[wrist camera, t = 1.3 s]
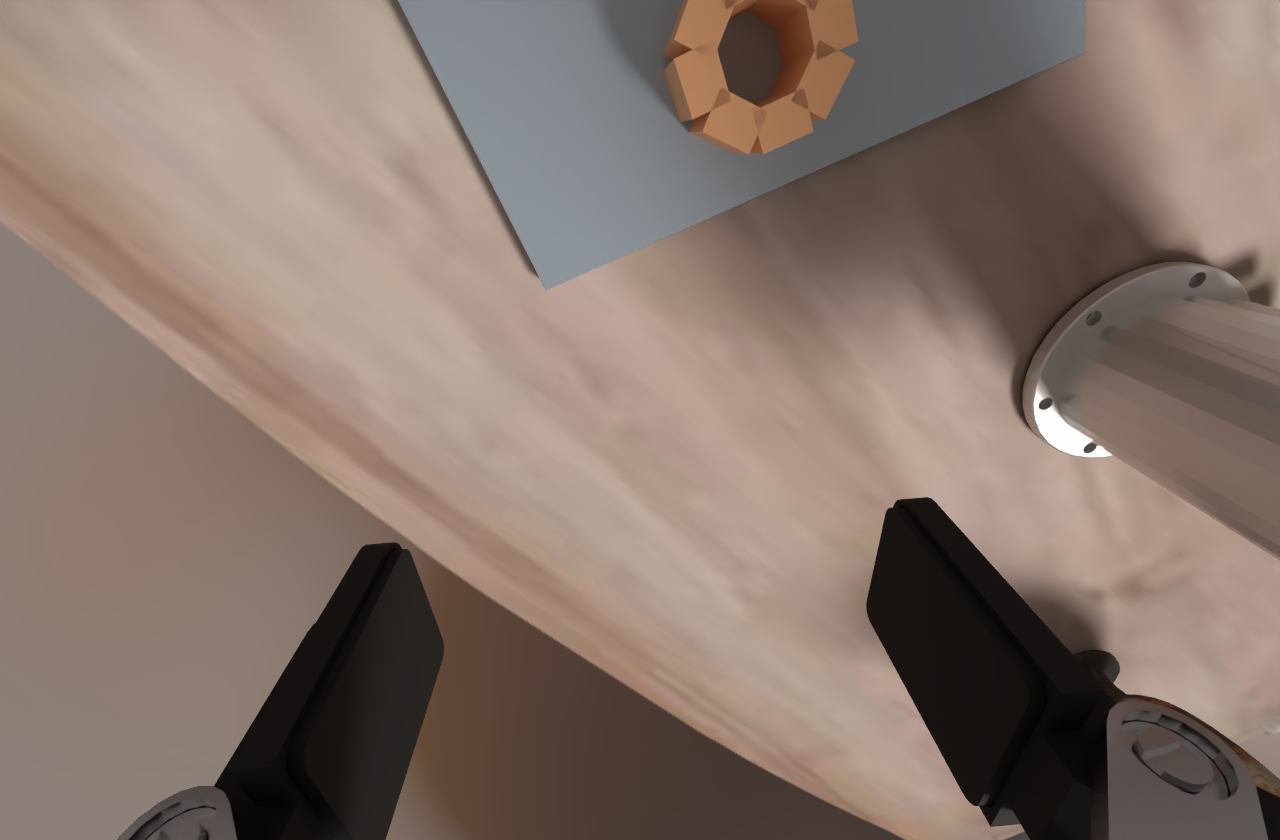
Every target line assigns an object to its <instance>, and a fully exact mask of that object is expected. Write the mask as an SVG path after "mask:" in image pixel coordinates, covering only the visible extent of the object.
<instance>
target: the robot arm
mask: <svg viewBox="0 0 1280 840" xmlns="http://www.w3.org/2000/svg"><path fill="white" fill-rule="evenodd" d="M1022 406H1023V410H1024V414H1025V418H1026V421H1027V423H1028V424H1029V426H1030V428H1031V429H1032V431H1033V432H1034V433H1035V434H1036V435H1037V436H1038V437H1039V438H1040V439H1041V440H1043V441H1044V442H1046V443H1047V444H1049V445H1050V446H1052V447H1053V448H1055V449H1056V450H1058V451H1061V452H1064V453H1066V454H1069V455H1073V456H1079V457H1105V456H1110V455H1114V456H1115V457H1117V458H1118V459H1120V460H1121V461H1123V462H1125V463H1126V464H1128V465H1129V466H1131V467H1133V468H1134V469H1136V470H1137V471H1139V472H1140V473H1142V474H1144V475H1145V476H1147V477H1148V478H1150V479H1152V480H1153V481H1155V482H1156V483H1158V484H1160V485H1161V486H1163V487H1164V488H1166V489H1167V490H1169V491H1171V492H1172V493H1174V494H1175V495H1177V496H1179V497H1180V498H1182V499H1183V500H1185V501H1186V502H1188V503H1190V504H1191V505H1193V506H1194V507H1196V508H1198V509H1199V510H1201V511H1202V512H1204V513H1206V514H1207V515H1209V516H1210V517H1212V518H1213V519H1215V520H1217V521H1218V522H1220V523H1221V524H1223V525H1225V526H1226V527H1228V528H1229V529H1231V530H1232V531H1234V532H1236V533H1237V534H1239V535H1240V536H1242V537H1244V538H1245V539H1247V540H1248V541H1250V542H1252V543H1253V544H1255V545H1256V546H1258V547H1259V548H1261V549H1263V550H1264V551H1266V552H1267V553H1269V554H1271V555H1272V556H1274V557H1275V558H1277V559H1278V560H1280V309H1277V308H1273V307H1269V306H1266V305H1262V304H1258V303H1254V302H1250V300H1249V297H1248V293H1247V292H1246V291H1245V289H1244V288H1243V286H1242V285H1241V283H1240V282H1239V281H1238V280H1237V279H1236V278H1234V277H1233V276H1231V275H1230V274H1229V273H1227V272H1226V271H1223V270H1220V269H1217V268H1214V267H1211V266H1207V265H1202V264H1196V263H1191V262H1163V263H1159V264H1154V265H1149V266H1145V267H1141V268H1139V269H1136V270H1134V271H1131V272H1128V273H1126V274H1123V275H1121V276H1119V277H1117V278H1115V279H1113V280H1111V281H1110V282H1108V283H1106V284H1104V285H1102V286H1100V287H1099V288H1097V289H1096V290H1095V291H1093V292H1092V293H1090V294H1089V295H1088V296H1086V297H1085V298H1083V299H1082V300H1081V301H1079V302H1078V303H1077V304H1076V305H1075V306H1074V307H1073V308H1072V309H1071V310H1069V311H1068V312H1067V313H1066V314H1065V315H1064V316H1063V317H1062V318H1061V319H1060V320H1059V321H1058V323H1057V324H1056V325H1055V326H1054V327H1053V329H1052V330H1051V331H1050V332H1049V333H1048V335H1047V336H1046V337H1045V339H1044V340H1043V342H1042V343H1041V345H1040V347H1039V348H1038V350H1037V351H1036V353H1035V355H1034V357H1033V359H1032V362H1031V364H1030V366H1029V369H1028V371H1027V373H1026V378H1025V382H1024V386H1023V403H1022ZM866 607H867V614H868V617H869V620H870V622H871V624H872V626H873V628H874V630H875V632H876V633H877V635H878V637H879V639H880V641H881V643H882V645H883V646H884V648H885V650H886V652H887V654H888V656H889V658H890V659H891V661H892V663H893V665H894V667H895V669H896V670H897V672H898V674H899V676H900V678H901V680H902V682H903V683H904V685H905V687H906V689H907V691H908V693H909V694H910V696H911V698H912V700H913V702H914V704H915V706H916V707H917V709H918V711H919V713H920V715H921V717H922V719H923V720H924V722H925V724H926V726H927V728H928V730H929V731H930V733H931V735H932V737H933V739H934V741H935V743H936V744H937V746H938V748H939V750H940V752H941V754H942V756H943V757H944V759H945V761H946V763H947V765H948V767H949V768H950V770H951V772H952V774H953V776H954V778H955V780H956V781H957V783H958V785H959V787H960V789H961V791H962V792H963V794H964V796H965V797H966V799H967V800H968V801H969V802H970V803H971V804H972V805H974V806H979V807H980V809H981V810H982V812H983V814H984V816H985V818H986V819H987V821H988V823H989V825H990V827H994V826H1004V825H1015V824H1021V825H1022V827H1023V829H1024V830H1025V832H1026V833H1027V835H1028V837H1029V838H1030V840H1280V797H1278V796H1276V795H1274V794H1272V793H1270V792H1268V791H1266V790H1264V789H1262V788H1260V787H1258V786H1255V784H1254V781H1253V779H1252V777H1251V775H1250V772H1249V770H1248V768H1247V767H1246V766H1245V765H1244V763H1243V762H1242V761H1241V760H1240V758H1239V757H1238V756H1237V754H1236V753H1235V752H1234V751H1233V750H1232V749H1231V748H1230V747H1229V746H1228V745H1227V744H1225V743H1224V742H1223V741H1222V740H1221V739H1220V738H1219V737H1218V736H1217V735H1215V734H1214V733H1213V732H1211V731H1210V730H1208V729H1207V728H1205V727H1204V726H1202V725H1201V724H1199V723H1198V722H1196V721H1195V720H1193V719H1191V718H1189V717H1187V716H1185V715H1183V714H1181V713H1179V712H1177V711H1175V710H1173V709H1171V708H1168V707H1165V706H1161V705H1158V704H1155V703H1152V702H1146V701H1137V700H1130V701H1125V702H1120V703H1118V704H1116V703H1115V702H1114V701H1113V700H1112V698H1111V697H1110V696H1109V695H1108V694H1107V693H1106V692H1105V691H1104V690H1103V688H1102V687H1101V686H1100V685H1099V684H1098V683H1097V682H1096V681H1095V679H1094V678H1093V677H1092V676H1091V675H1090V674H1089V673H1088V672H1087V671H1086V669H1085V668H1084V667H1083V666H1082V665H1081V664H1080V663H1079V662H1078V661H1077V659H1076V658H1075V657H1074V656H1073V655H1072V654H1071V653H1070V652H1069V650H1068V649H1067V648H1066V647H1065V646H1064V645H1063V644H1062V643H1061V642H1060V640H1059V639H1058V638H1057V637H1056V636H1055V635H1054V634H1053V633H1052V632H1051V630H1050V629H1049V628H1048V627H1047V626H1046V625H1045V624H1044V623H1043V621H1042V620H1041V619H1040V618H1039V617H1038V616H1037V615H1036V614H1035V613H1034V611H1033V610H1032V609H1031V608H1030V607H1029V606H1028V605H1027V604H1026V603H1025V601H1024V600H1023V599H1022V598H1021V597H1020V596H1019V595H1018V594H1017V593H1016V591H1015V590H1014V589H1013V588H1012V587H1011V586H1010V585H1009V584H1008V582H1007V581H1006V580H1005V579H1004V578H1003V577H1002V576H1001V575H1000V574H999V572H998V571H997V570H996V569H995V568H994V567H993V566H992V565H991V564H990V562H989V561H988V560H987V559H986V558H985V557H984V556H983V555H982V554H981V552H980V551H979V550H978V549H977V548H976V547H975V546H974V545H973V543H972V542H971V541H970V540H969V539H968V538H967V537H966V536H965V535H964V533H963V532H962V531H961V530H960V529H959V528H958V527H957V526H956V525H955V523H954V522H953V521H952V520H951V519H950V518H949V517H948V516H947V514H946V513H945V512H944V511H943V510H942V509H941V508H940V507H939V506H938V504H937V503H936V502H935V501H934V500H932V499H931V498H928V497H925V498H913V499H901V500H897V501H896V502H895V504H894V507H893V508H889V509H888V510H887V511H886V514H885V519H884V523H883V528H882V533H881V537H880V542H879V547H878V551H877V556H876V561H875V565H874V570H873V575H872V579H871V584H870V589H869V593H868V598H867V604H866ZM443 654H444V643H443V639H442V636H441V633H440V631H439V628H438V625H437V623H436V620H435V617H434V615H433V612H432V609H431V606H430V604H429V601H428V599H427V596H426V593H425V590H424V588H423V585H422V582H421V580H420V577H419V574H418V572H417V569H416V566H415V564H414V561H413V558H412V556H411V553H410V551H409V550H407V549H402V548H401V546H400V545H399V544H398V543H382V544H371V545H365V546H363V547H362V548H361V549H360V551H359V552H358V554H357V556H356V557H355V559H354V560H353V562H352V564H351V565H350V567H349V569H348V570H347V572H346V574H345V575H344V577H343V579H342V580H341V582H340V584H339V586H338V587H337V589H336V590H335V592H334V594H333V595H332V597H331V599H330V600H329V602H328V604H327V605H326V607H325V609H324V610H323V612H322V614H321V615H320V617H319V619H318V620H317V622H316V623H315V624H314V625H313V626H312V627H311V628H310V630H309V631H308V632H307V634H306V636H305V637H304V639H303V640H302V642H301V644H300V646H299V647H298V649H297V650H296V652H295V654H294V655H293V657H292V659H291V660H290V662H289V664H288V665H287V667H286V669H285V670H284V672H283V673H282V675H281V677H280V678H279V680H278V682H277V683H276V685H275V687H274V688H273V690H272V692H271V693H270V695H269V696H268V698H267V700H266V701H265V703H264V705H263V706H262V708H261V710H260V711H259V713H258V715H257V716H256V718H255V720H254V721H253V723H252V724H251V726H250V728H249V729H248V731H247V733H246V734H245V736H244V738H243V739H242V741H241V743H240V744H239V746H238V747H237V749H236V751H235V752H234V754H233V756H232V757H231V759H230V761H229V762H228V764H227V766H226V767H225V769H224V771H223V772H222V774H221V775H220V777H219V779H218V780H217V782H216V784H215V785H214V786H197V787H193V788H190V789H187V790H183V791H180V792H178V793H176V794H174V795H172V796H170V797H168V798H167V799H165V800H163V801H161V802H159V803H158V804H157V805H155V806H154V807H152V808H151V809H150V810H148V811H147V812H146V813H144V814H143V815H142V816H140V817H139V818H138V819H137V820H136V821H135V822H134V823H133V824H132V825H131V826H130V827H129V828H128V829H126V830H125V831H124V832H123V833H122V834H121V835H120V836H119V838H118V839H117V840H386V836H387V833H388V830H389V827H390V824H391V821H392V818H393V814H394V811H395V807H396V805H397V802H398V799H399V795H400V792H401V789H402V786H403V783H404V779H405V776H406V773H407V770H408V767H409V764H410V761H411V758H412V754H413V751H414V748H415V745H416V742H417V739H418V736H419V732H420V729H421V726H422V723H423V720H424V717H425V713H426V710H427V707H428V704H429V701H430V698H431V695H432V691H433V688H434V685H435V682H436V679H437V675H438V672H439V669H440V666H441V663H442V660H443Z"/></svg>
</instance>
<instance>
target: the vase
mask: <svg viewBox="0 0 1280 840" xmlns="http://www.w3.org/2000/svg"><path fill="white" fill-rule="evenodd" d="M1073 656H1074V657H1075V658H1076V659H1077V661H1078V662H1079V663H1080V664H1081V665H1082V666H1083V667H1084V668H1085V669H1086V671H1087V672H1088V673H1089V674H1090V675H1091V676H1092V677H1093V678H1094V679H1095V681H1096V682H1097V683H1098V684H1099V685H1100V686H1101V687H1102V688H1103V690H1104V691H1105V692H1106V693H1107V694H1108V695H1109V696H1110V697H1111V698H1112V700H1113V701H1114V702H1115V703H1116V704H1118V703H1120V702H1125V701H1130V700H1137V701H1146V702H1152V703H1155V704H1158V705H1161V706H1165V707H1168V708H1171V709H1173V710H1175V711H1177V712H1179V713H1181V714H1183V715H1185V716H1187V717H1189V718H1191V719H1193V720H1195V721H1196V722H1198V723H1199V724H1201V725H1202V726H1204V727H1205V728H1207V729H1208V730H1210V731H1211V732H1213V733H1214V734H1215V735H1217V736H1218V737H1219V738H1220V739H1221V740H1222V741H1223V742H1224V743H1225V744H1227V745H1228V746H1229V747H1230V748H1231V749H1232V750H1233V751H1234V752H1235V753H1236V754H1237V756H1238V757H1239V758H1240V760H1241V761H1242V762H1243V763H1244V765H1245V766H1246V767H1247V768H1248V770H1249V772H1250V775H1251V777H1252V779H1253V781H1254V784H1255V786H1258V787H1260V788H1262V789H1264V790H1266V791H1268V792H1270V793H1272V794H1274V795H1276V796H1278V797H1280V780H1279V778H1277V777H1276V776H1275V775H1274V774H1273V773H1272V772H1270V771H1269V770H1268V769H1267V768H1266V767H1265V766H1263V765H1262V764H1261V763H1260V762H1258V761H1257V760H1256V759H1255V758H1253V757H1252V756H1251V755H1250V754H1248V753H1247V752H1246V751H1244V750H1243V749H1242V748H1241V747H1239V746H1238V745H1237V744H1235V743H1234V742H1232V741H1231V740H1230V739H1228V738H1227V737H1225V736H1224V735H1223V734H1221V733H1220V732H1218V731H1217V730H1215V729H1214V728H1213V727H1211V726H1210V725H1208V724H1206V723H1205V722H1203V721H1202V720H1200V719H1198V718H1197V717H1195V716H1194V715H1192V714H1190V713H1188V712H1187V711H1185V710H1183V709H1181V708H1179V707H1177V706H1175V705H1173V704H1170V703H1168V702H1165V701H1162V700H1159V699H1156V698H1152V697H1147V696H1142V695H1127V694H1125V693H1124V692H1123V691H1121V690H1120V689H1119V688H1117V687H1116V686H1115V685H1114V684H1113V682H1114V681H1115V680H1116V678H1117V676H1118V674H1119V672H1120V666H1119V663H1118V661H1117V660H1116V658H1115V657H1114V656H1113V655H1112V654H1110V653H1108V652H1104V651H1087V652H1082V653H1079V654H1076V655H1073Z"/></svg>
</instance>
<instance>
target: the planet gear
mask: <svg viewBox="0 0 1280 840" xmlns="http://www.w3.org/2000/svg"><path fill="white" fill-rule="evenodd" d="M745 11H747V12H749V13H751V14H752V15H754V16H756V17H758V18H760V19H761V20H763V21H765V22H767V23H768V24H770V25H772V26H774V27H775V30H776V35H777V39H778V44H779V48H780V52H781V57H782V61H783V65H782V67H781V70H780V72H779V74H778V76H777V78H776V81H775V83H774V85H773V87H772V90H771V92H770V94H769V96H768V98H767V99H765V100H763V101H761V102H759V103H757V104H755V105H754V104H752V103H750V102H748V101H746V100H744V99H743V98H741V97H739V96H737V95H735V94H733V93H731V92H729V91H728V87H727V84H726V80H725V76H724V73H723V69H722V66H721V62H720V58H719V55H718V51H717V49H718V46H719V44H720V41H721V39H722V36H723V34H724V31H725V28H726V26H727V23H728V21H729V19H731V18H733V17H735V16H737V15H739V14H741V13H743V12H745ZM855 42H858V35H857V29H856V22H855V16H854V10H853V4H852V0H683V3H682V6H681V8H680V11H679V14H678V17H677V20H676V22H675V25H674V28H673V31H672V34H671V36H670V39H669V42H668V45H667V48H666V50H665V53H664V55H665V56H667V57H669V58H671V59H673V60H672V62H671V63H670V64H669V65H668V66H667V68H666V69H665V70H664V74H665V77H666V80H667V83H668V86H669V89H670V92H671V95H672V99H673V102H674V105H675V108H676V111H677V114H678V117H679V120H680V122H683V121H688V120H692V119H694V121H693V123H692V126H691V128H690V131H689V133H691V134H693V135H695V136H697V137H699V138H701V139H703V140H705V141H707V142H709V143H711V144H713V145H716V146H718V147H720V148H722V149H724V150H726V151H728V152H733V153H742V154H749V153H756V154H765V153H767V152H770V151H772V150H774V149H776V148H778V147H781V146H783V145H785V144H787V143H789V142H792V141H794V140H796V139H798V138H801V137H803V136H805V135H807V134H809V133H812V132H814V131H813V126H812V121H814V120H826V118H827V116H828V114H829V112H830V110H831V108H832V106H833V104H834V102H835V100H836V98H837V96H838V94H839V92H840V90H841V88H842V86H843V84H844V82H845V80H846V78H847V76H848V74H849V72H850V70H851V68H852V66H853V64H854V62H855V60H854V59H853V58H851V57H849V56H847V55H846V54H844V53H842V52H840V51H839V50H841V49H843V48H845V47H847V46H849V45H851V44H853V43H855Z"/></svg>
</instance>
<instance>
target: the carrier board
mask: <svg viewBox="0 0 1280 840" xmlns="http://www.w3.org/2000/svg"><path fill="white" fill-rule="evenodd" d="M398 2H399V4H400V6H401V8H402V10H403V12H404V14H405V15H406V17H407V19H408V21H409V23H410V25H411V27H412V29H413V31H414V33H415V35H416V37H417V39H418V41H419V43H420V45H421V47H422V49H423V51H424V53H425V55H426V57H427V59H428V61H429V62H430V64H431V66H432V68H433V70H434V72H435V74H436V76H437V78H438V80H439V82H440V84H441V86H442V88H443V90H444V92H445V94H446V96H447V98H448V100H449V102H450V104H451V106H452V108H453V109H454V111H455V113H456V115H457V117H458V119H459V121H460V123H461V125H462V127H463V129H464V131H465V133H466V135H467V137H468V139H469V141H470V143H471V145H472V147H473V149H474V151H475V153H476V155H477V156H478V158H479V160H480V162H481V164H482V166H483V168H484V170H485V172H486V174H487V176H488V178H489V180H490V182H491V184H492V186H493V188H494V190H495V192H496V194H497V196H498V198H499V200H500V202H501V203H502V205H503V207H504V209H505V211H506V213H507V215H508V217H509V219H510V221H511V223H512V225H513V227H514V229H515V231H516V233H517V235H518V237H519V239H520V241H521V243H522V245H523V247H524V249H525V250H526V252H527V254H528V256H529V258H530V260H531V262H532V264H533V266H534V268H535V270H536V272H537V274H538V276H539V278H540V280H541V282H542V284H543V286H544V288H545V290H548V289H550V288H552V287H555V286H557V285H559V284H561V283H564V282H566V281H568V280H570V279H573V278H575V277H577V276H579V275H582V274H584V273H586V272H589V271H591V270H593V269H595V268H598V267H600V266H602V265H604V264H607V263H609V262H611V261H613V260H616V259H618V258H620V257H622V256H625V255H627V254H629V253H632V252H634V251H636V250H638V249H641V248H643V247H645V246H647V245H650V244H652V243H654V242H656V241H659V240H661V239H663V238H666V237H668V236H670V235H672V234H675V233H677V232H679V231H681V230H684V229H686V228H688V227H690V226H693V225H695V224H697V223H700V222H702V221H704V220H706V219H709V218H711V217H713V216H715V215H718V214H720V213H722V212H724V211H727V210H729V209H731V208H734V207H736V206H738V205H740V204H743V203H745V202H747V201H749V200H752V199H754V198H756V197H758V196H761V195H763V194H765V193H767V192H770V191H772V190H774V189H777V188H779V187H781V186H783V185H786V184H788V183H790V182H792V181H795V180H797V179H799V178H801V177H804V176H806V175H808V174H811V173H813V172H815V171H817V170H820V169H822V168H824V167H826V166H829V165H831V164H833V163H835V162H838V161H840V160H842V159H845V158H847V157H849V156H851V155H854V154H856V153H858V152H860V151H863V150H865V149H867V148H869V147H872V146H874V145H876V144H879V143H881V142H883V141H885V140H888V139H890V138H892V137H894V136H897V135H899V134H901V133H903V132H906V131H908V130H910V129H912V128H915V127H917V126H919V125H922V124H924V123H926V122H928V121H931V120H933V119H935V118H937V117H940V116H942V115H944V114H946V113H949V112H951V111H953V110H956V109H958V108H960V107H962V106H965V105H967V104H969V103H971V102H974V101H976V100H978V99H980V98H983V97H985V96H987V95H990V94H992V93H994V92H996V91H999V90H1001V89H1003V88H1005V87H1008V86H1010V85H1012V84H1014V83H1017V82H1019V81H1021V80H1024V79H1026V78H1028V77H1030V76H1033V75H1035V74H1037V73H1039V72H1042V71H1044V70H1046V69H1048V68H1051V67H1053V66H1055V65H1057V64H1060V63H1062V62H1064V61H1067V60H1069V59H1071V58H1073V57H1076V56H1078V55H1080V54H1082V53H1084V17H1085V0H852V4H853V10H854V16H855V22H856V29H857V35H858V42H855V43H853V44H851V45H849V46H847V47H845V48H843V49H841V50H839V51H840V52H842V53H844V54H846V55H847V56H849V57H851V58H853V59H854V60H855V62H854V64H853V66H852V68H851V70H850V72H849V74H848V76H847V78H846V80H845V82H844V84H843V86H842V88H841V90H840V92H839V94H838V96H837V98H836V100H835V102H834V104H833V106H832V108H831V110H830V112H829V114H828V116H827V118H826V120H814V121H812V126H813V131H814V132H812V133H809V134H807V135H805V136H803V137H801V138H798V139H796V140H794V141H792V142H789V143H787V144H785V145H783V146H781V147H778V148H776V149H774V150H772V151H770V152H767V153H765V154H756V153H749V154H742V153H733V152H728V151H726V150H724V149H722V148H720V147H718V146H716V145H713V144H711V143H709V142H707V141H705V140H703V139H701V138H699V137H697V136H695V135H693V134H691V133H689V131H690V128H691V126H692V123H693V121H694V119H692V120H688V121H683V122H680V120H679V117H678V114H677V111H676V108H675V105H674V102H673V99H672V95H671V92H670V89H669V86H668V83H667V80H666V77H665V74H664V70H665V69H666V68H667V66H668V65H669V64H670V63H671V62H672V60H673V59H671V58H669V57H667V56H665V55H664V53H665V50H666V48H667V45H668V42H669V39H670V36H671V34H672V31H673V28H674V25H675V22H676V20H677V17H678V14H679V11H680V8H681V6H682V3H683V0H398ZM717 51H718V55H719V58H720V62H721V66H722V69H723V73H724V76H725V80H726V84H727V87H728V91H729V92H731V93H733V94H735V95H737V96H739V97H741V98H743V99H744V100H746V101H748V102H750V103H752V104H754V105H755V104H757V103H759V102H761V101H763V100H765V99H767V98H768V96H769V94H770V92H771V90H772V87H773V85H774V83H775V81H776V78H777V76H778V74H779V72H780V70H781V67H782V65H783V61H782V57H781V52H780V48H779V44H778V39H777V35H776V30H775V27H774V26H772V25H770V24H768V23H767V22H765V21H763V20H761V19H760V18H758V17H756V16H754V15H752V14H751V13H749V12H747V11H745V12H743V13H741V14H739V15H737V16H735V17H733V18H731V19H729V21H728V23H727V26H726V28H725V31H724V34H723V36H722V39H721V41H720V44H719V46H718V49H717Z"/></svg>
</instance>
